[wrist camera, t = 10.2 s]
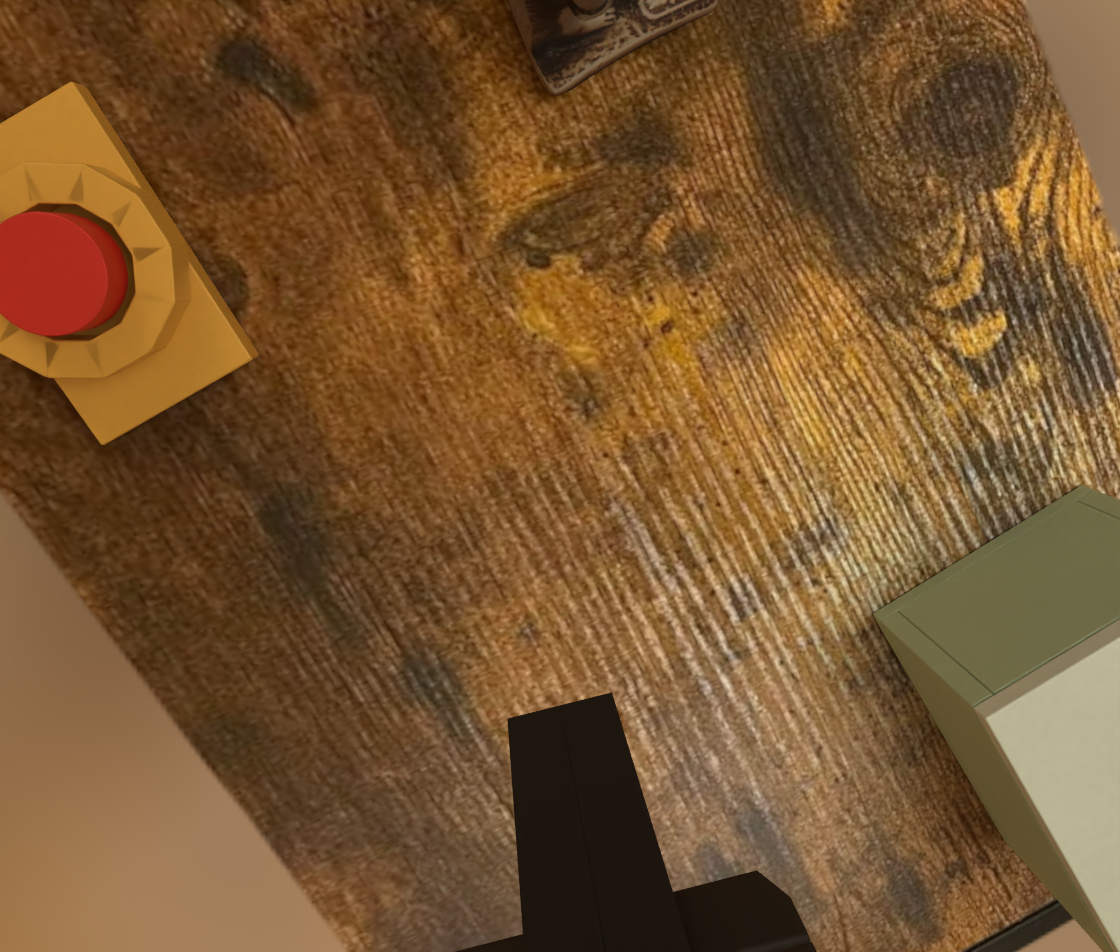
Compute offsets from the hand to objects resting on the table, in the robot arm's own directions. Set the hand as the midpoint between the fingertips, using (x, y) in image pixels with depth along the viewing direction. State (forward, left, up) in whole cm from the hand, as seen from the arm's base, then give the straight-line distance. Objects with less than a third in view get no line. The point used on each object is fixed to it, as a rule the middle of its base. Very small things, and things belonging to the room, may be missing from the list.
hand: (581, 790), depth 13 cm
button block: (-8, -13, -22) cm, 27 cm away
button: (-8, -13, -20) cm, 25 cm away
